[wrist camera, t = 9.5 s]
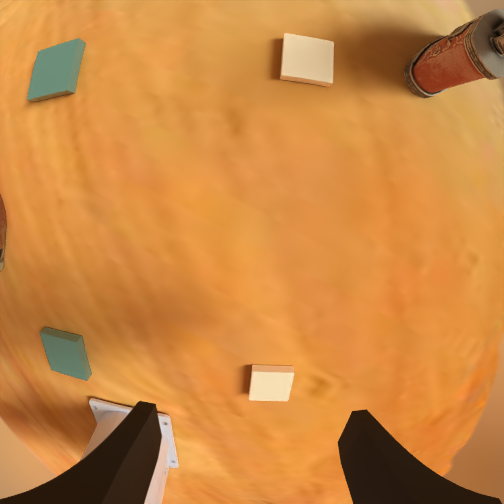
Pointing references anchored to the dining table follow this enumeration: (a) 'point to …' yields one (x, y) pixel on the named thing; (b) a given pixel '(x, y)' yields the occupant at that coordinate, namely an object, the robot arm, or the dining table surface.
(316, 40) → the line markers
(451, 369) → the dining table surface
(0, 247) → the bread roll
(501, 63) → the lighter
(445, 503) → the robot arm
